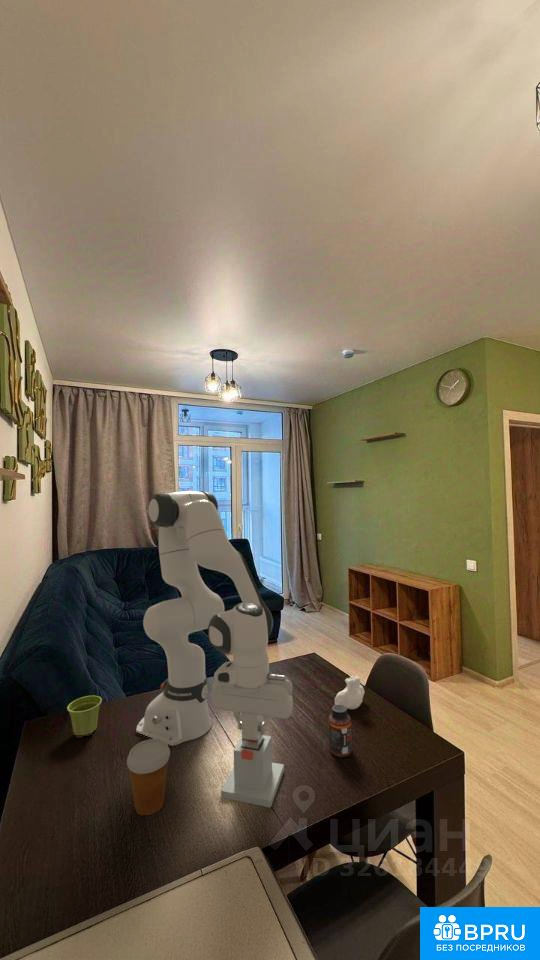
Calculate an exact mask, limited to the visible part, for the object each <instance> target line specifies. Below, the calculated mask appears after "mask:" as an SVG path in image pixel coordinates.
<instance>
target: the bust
mask: <svg viewBox="0 0 540 960" xmlns="http://www.w3.org/2000/svg"><path fill="white" fill-rule="evenodd" d="M344 682H345V683H346V687H345V688H344V689H343V690H340V691H339V692H337V694H336V696H335V697H334V705H343V706H345V707H346V708H347V710H348V709H349V710H356V709H358V708H359V707H360V706H361V704H362V703H363V698H364V695H365V688H364V687H363V685H362V684H361V678H360V675H354V674H353V675H350V676H349V678H348V677H346V678H345V679H344Z"/></svg>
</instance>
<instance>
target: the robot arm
mask: <svg viewBox="0 0 540 960" xmlns="http://www.w3.org/2000/svg"><path fill="white" fill-rule="evenodd" d="M147 513H148V517H149V521H150V522H151V523H152V524H153V525H154V526H155V527H159V528H158V553H159V561H160V571H161V577H162V579H163V581H164V582H165V584H167V585H169V586H172V587H174V588H177V589H178V592H180V595H181V597H177V598H172V599H167V600H163V601H160V602H159V603H156V604H154V605H151V606H150V607H148V608H147V610H146V611H145V613H144V616H143V625H142V626H143V630H144V632H145V634H146V636H147V637H148V638H149V639H151V640H152V641H154V642H156V643H157V644H159V646H161V648H162V649H163V650H164V652H165V653H164V654H165V656H166V662H167V674H168V676H167V677H168V678H166V679H165V680H164V682H163V683H162V684H160V690H162V689H163V691H162V692H161V693H159V694H158V695H157V696H155V698H153V699H152V700H151V702H150V703H149V704H148V705H147V707H146V709H145V712H144V717H142V719H140V721H139V722H138V724H137V725H136V727H135V728H136V729H135V730H136V731H135V732H138V733H140V734H143V735H145V736H148V737H151V738H153V739H161V740H163V741H165V742H166V743H167V744H169V745H168V746H170V745H171V746H172V747H174V745H175V746H178V745H179V744H181V743H184V742H189V741H192V740H195V739H198V738H200V737H202V736H204V735H205V734H207V733H208V732H209V731H210V729H211V728H212V725H213V723H212V718H211V716H210V715H211V714H210V710H209V706H208V705H209V704H208V699H207V697H208V679H207V678H208V677H207V675H206V654H205V652H204V649H203V648H201V646H199V645H198V644H195V643H191V642H190V641H189V635H190V634H192V633H196V632H201V631H204V630H207V638H208V641H209V644H210V646H211V647H213V648H214V649H215V650H217V651H219V652H221V653H227V654H229V653H231V654H232V656H233V657H232V660H231V661H226V662H224V663H223V664H221V666H219V667H218V669H216V671H215V672H214V674H213V680H214V682H213V684H212V686H211V697H210V698H211V699H210V700H211V701H210V702H211V705H212V708H214V709H215V710H221V711H226V712H227V711H228V712H232V716H233V717H234V719H235V721H236V722H237V729H238V730H240V731H242V716H241V712H247V713H254V714H258V715H263V722H261V723H260V725H259V729H260V730H259V732H260V733H263V734H266V733H267V730H268V722H269V721H270V719H271V717H272V718H276V719H277V718H279V719H285V720H286V719H289V718H291V717H290V716H292V714H293V711H294V702H293V701H294V700H293V695H292V694H293V691H294V688H293V687H294V685H293V682H292V680H291V679H290V678H288V677H287V675H281V674H280V675H279V674H275V673H270V666H269V665H270V661H269V654H268V650H267V649H268V644H269V637H270V636H271V634H272V631H273V627H274V618H273V615H272V612H271V610H270V609H269V608H268V606H267V604H266V603H265V601H264V600H263V598H262V595H261V592H260V591H259V588H258V586H257V583H256V581H255V580H254V577H253V575H252V572H251V570H250V569H249V565H248V564H247V561H246V559H245V557H244V556H243V554H242V553H241V552H240V551H238V550H237V549H236V548H235V547H234V546H233V544H232V543H231V542H230V540H229V538H228V535H227V534H226V530H225V526H224V523H223V520H222V518H221V515H220V514H219V505H218V501H217V498H216V497H215V495H214V494H212V493H210V492H207V491H204V490H201V491H195V490H182V491H172V492H166V491H165V492H158V493H156V494H154V495H152V496H151V498H150V500H149V502H148V506H147ZM199 566H200V567H202V568H205V569H208V570H211V571H216V572H218V573H219V572H220V573H222V574H224V575H226V576H228V577H229V578H230V579H231V580H232V582H233V583H234V586H235V588H236V590H237V593H238V595H239V597H240V599H241V602H239V603H237V604H236V605H235V606H233V608H232V609H229V610H225V604H224V601H223V599H222V598H221V596H220V595H219V594H218V593H215V592H214V591H212V590H211V589H210V588H209V587H208V586H207V585H206V584H205V582H204V580H203V578H202V576H201V573H200V570H199V568H198V567H199ZM145 736H144V737H145ZM148 737H147V738H148ZM151 738H150V739H151ZM171 746H170V747H171Z"/></svg>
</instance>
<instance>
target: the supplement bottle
mask: <svg viewBox="0 0 540 960" xmlns="http://www.w3.org/2000/svg"><path fill="white" fill-rule="evenodd" d="M328 735H329V737H328V738H329V750H330V752H331V754H332V755H334V756H336V757H339V758H346V757H348V756H350V755H351V753H352V750H353V745H352V720H351V716H350V715H349V714H348V709H347V708H346V707H345V706H343V705H335V704H334V705H333V706H332V707H331V714H329V716H328Z"/></svg>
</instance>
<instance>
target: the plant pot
mask: <svg viewBox="0 0 540 960" xmlns="http://www.w3.org/2000/svg"><path fill="white" fill-rule="evenodd" d="M102 700H103V699H102V697H101V696H98V695H86V696H82V697H79V698H76V699H75V700H73V701H71V702H70V703H69V704H68V705H67V707H66V709H67V712H68V713H69V716H70V719H71V725H72V732H74V733H73V735H74V734H75V735H86V734H89V733H92V732H93V731H94V730H96V731H97V729H96V728H97V727H98V718H99V711H100V707H101V703H102Z"/></svg>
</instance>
